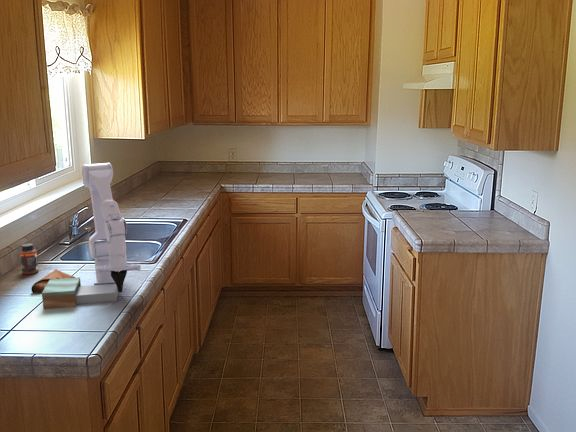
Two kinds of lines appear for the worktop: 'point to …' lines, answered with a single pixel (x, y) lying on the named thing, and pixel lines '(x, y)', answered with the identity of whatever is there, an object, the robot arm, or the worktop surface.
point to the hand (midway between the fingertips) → (120, 291)
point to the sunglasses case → (42, 283)
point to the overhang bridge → (60, 293)
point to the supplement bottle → (29, 259)
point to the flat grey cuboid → (96, 293)
